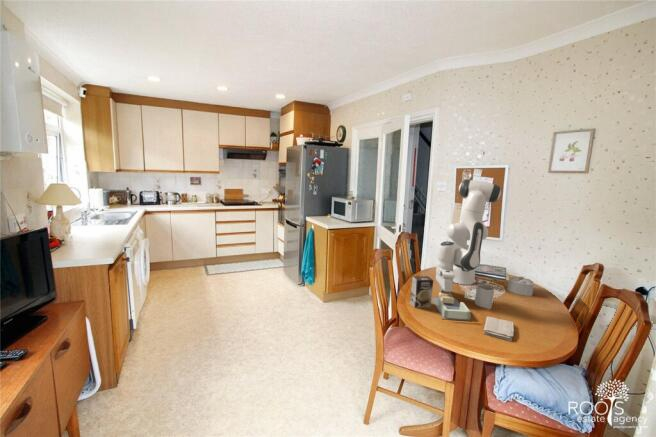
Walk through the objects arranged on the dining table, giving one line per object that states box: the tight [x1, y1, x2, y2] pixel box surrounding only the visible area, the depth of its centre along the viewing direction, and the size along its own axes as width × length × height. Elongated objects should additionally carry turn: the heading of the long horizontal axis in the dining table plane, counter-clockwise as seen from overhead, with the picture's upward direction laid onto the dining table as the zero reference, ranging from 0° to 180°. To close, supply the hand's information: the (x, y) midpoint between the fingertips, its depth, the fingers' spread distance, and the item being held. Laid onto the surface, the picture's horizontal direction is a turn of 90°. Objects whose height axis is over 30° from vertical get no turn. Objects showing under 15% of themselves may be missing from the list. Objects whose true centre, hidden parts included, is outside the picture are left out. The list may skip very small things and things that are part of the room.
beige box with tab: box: [438, 290, 455, 305], centre depth 171 cm, size 7×6×6 cm
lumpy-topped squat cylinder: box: [507, 276, 535, 297], centre depth 192 cm, size 10×13×9 cm
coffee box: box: [409, 275, 434, 309], centre depth 165 cm, size 9×6×16 cm
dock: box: [431, 296, 472, 323], centre depth 164 cm, size 24×14×5 cm, turn 175°
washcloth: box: [483, 316, 515, 342], centre depth 146 cm, size 12×18×3 cm, turn 150°
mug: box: [474, 283, 495, 310], centre depth 171 cm, size 12×8×11 cm
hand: (442, 293), depth 179 cm, fingers closed
